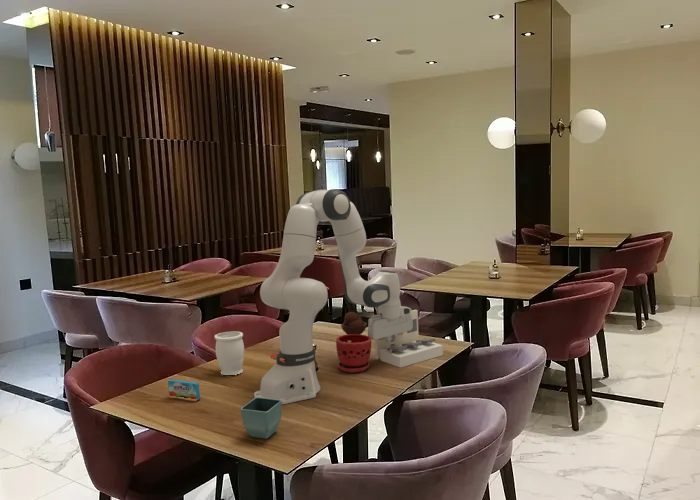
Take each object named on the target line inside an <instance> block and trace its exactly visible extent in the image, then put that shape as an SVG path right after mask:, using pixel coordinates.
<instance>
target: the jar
mask: <svg viewBox="0 0 700 500" xmlns="http://www.w3.org/2000/svg"><path fill="white" fill-rule="evenodd" d="M243 337H244V333H243V332H241V331H236V330H235V331H234V330H233V331H224V332H219V333H217V334H214V339H215V340H216V342H215V357H216V359H217V364H218V367H219V368H220V370H221V371H220V373H221V374H223V375H235V376H238V375H237V374H239V375H241V374H242V373H243V372H244V369H243V368H242V367H243V364H244V356H245V346H244V345H245V343H244V341H243ZM240 373H241V374H240ZM221 374H220V375H221ZM223 375H222V376H223Z"/></svg>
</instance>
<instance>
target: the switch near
mask: <svg viewBox="0 0 700 500" xmlns="http://www.w3.org/2000/svg"><path fill="white" fill-rule="evenodd" d="M390 349H392V351H400V350H404V349H407V348H406V347H405V346H392V347H389V348H387V350H390Z"/></svg>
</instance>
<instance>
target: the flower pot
mask: <svg viewBox="0 0 700 500" xmlns="http://www.w3.org/2000/svg"><path fill="white" fill-rule="evenodd" d="M282 408H283V404H282V400H276V399H267V398H259V397H256V398H252V399H251V400H250V401H249V402H247V403H246V404H244V405H243V406H242V407H240V414H241V419H242V424H243V425H244V428H245V431H246V432H247V433H248V435H250V436H251V437H252V438H257V439H258V438H259V439H264V440H265V439H266V440H267V439H268V438H270V437H271V436H272V435H273V434H274V433H275V432H276V431H277V429H278V428H279V425H280V423H281V420H282Z"/></svg>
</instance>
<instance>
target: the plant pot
mask: <svg viewBox="0 0 700 500" xmlns="http://www.w3.org/2000/svg"><path fill="white" fill-rule="evenodd" d="M335 339H336V340H335V343H336V344H335V345H336V354H337V358H338V360H339V363H338V364H337V365H338V368H339V369H340V370H341V371H343V372H346V373H360V372H364V371H366V370H367V369H368V368H369V366H370V363H369V360H370V357H371V354H372V353H371V352H372V339H371V338H370V337H368V335H366V334H349V335H347V334H343V335H340V336H337V337H336V338H335ZM349 341H350V342H349ZM351 342H352V343H351ZM355 342H357V343H355Z"/></svg>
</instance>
